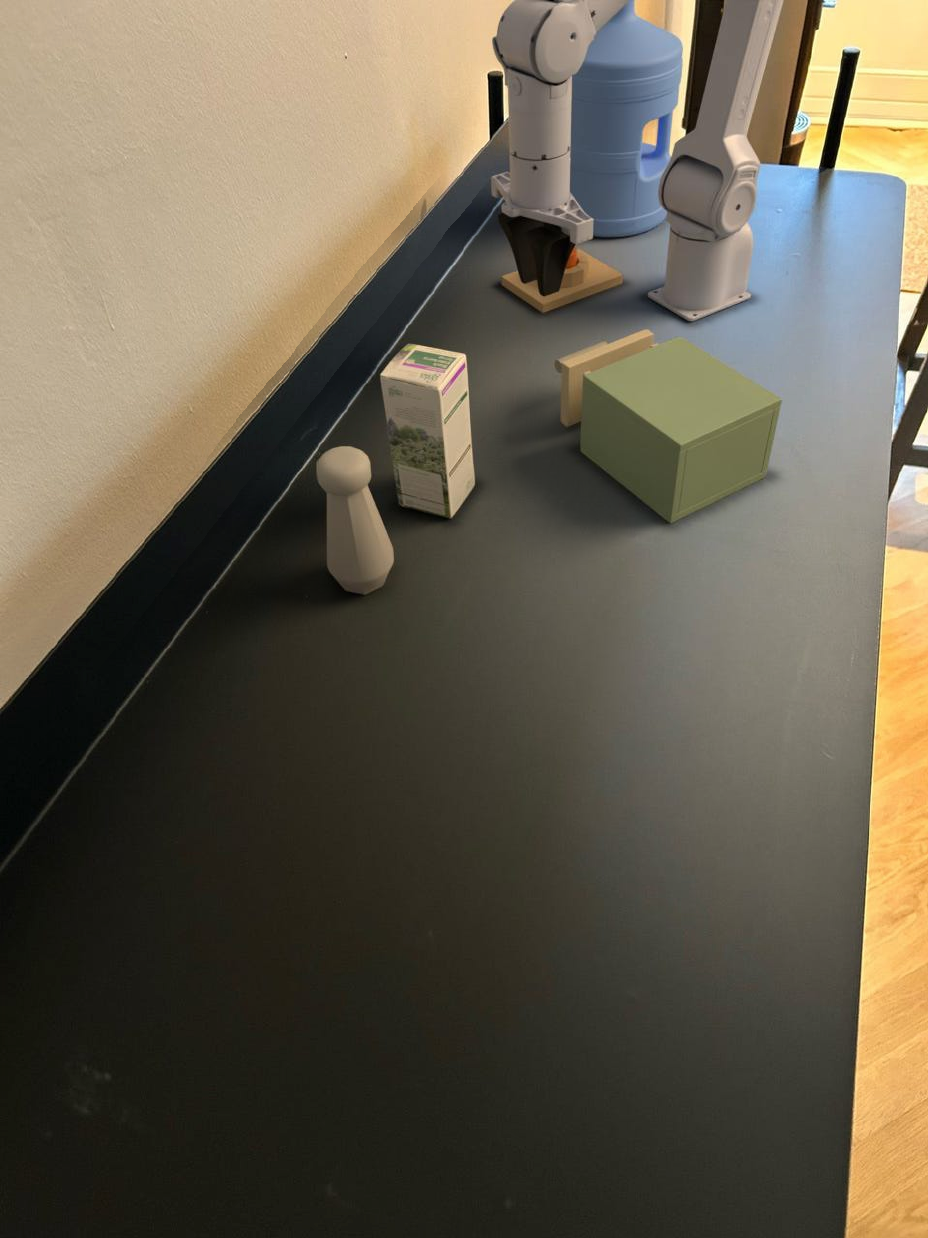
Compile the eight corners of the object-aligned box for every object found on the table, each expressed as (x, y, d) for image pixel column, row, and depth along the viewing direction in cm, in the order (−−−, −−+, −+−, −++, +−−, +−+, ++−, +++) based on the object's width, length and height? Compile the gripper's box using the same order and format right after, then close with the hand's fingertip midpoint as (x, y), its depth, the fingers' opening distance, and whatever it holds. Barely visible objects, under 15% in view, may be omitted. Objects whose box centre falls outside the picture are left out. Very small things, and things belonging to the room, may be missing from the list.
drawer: (536, 402, 99) (536, 344, 94) (616, 370, 102) (619, 311, 97) (639, 483, 89) (644, 422, 84) (723, 444, 92) (733, 383, 87)
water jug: (558, 243, 126) (561, -2, 106) (550, 195, 137) (551, -36, 117) (677, 236, 125) (702, -13, 105) (659, 188, 136) (679, -46, 116)
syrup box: (477, 485, 91) (468, 349, 81) (450, 522, 88) (438, 385, 77) (424, 472, 93) (409, 338, 83) (396, 508, 90) (377, 373, 79)
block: (578, 257, 123) (579, 234, 121) (622, 283, 117) (624, 260, 115) (501, 285, 119) (500, 261, 117) (542, 313, 113) (542, 289, 111)
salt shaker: (401, 556, 85) (384, 435, 75) (392, 602, 81) (372, 480, 72) (337, 555, 85) (312, 434, 76) (324, 600, 81) (297, 479, 72)
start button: (565, 254, 118) (565, 241, 117) (582, 265, 116) (583, 251, 115) (541, 263, 117) (541, 249, 116) (558, 273, 115) (558, 260, 113)
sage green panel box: (580, 451, 94) (582, 374, 88) (671, 411, 98) (679, 335, 92) (670, 523, 86) (680, 445, 80) (766, 476, 90) (782, 398, 83)
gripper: (462, 137, 92) (470, 271, 102) (549, 184, 83) (549, 326, 93) (523, 120, 94) (525, 252, 104) (614, 163, 85) (606, 304, 95)
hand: (540, 286), depth 99 cm, fingers open, 3 cm apart
